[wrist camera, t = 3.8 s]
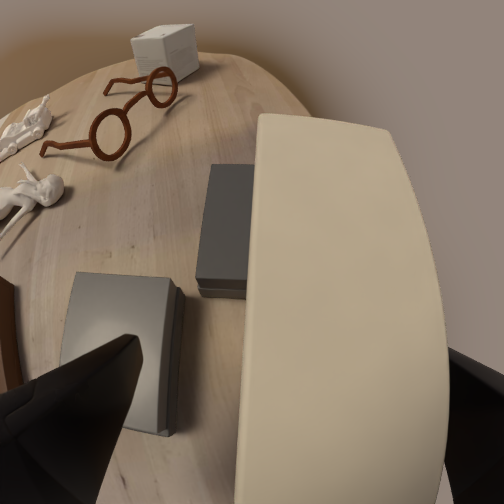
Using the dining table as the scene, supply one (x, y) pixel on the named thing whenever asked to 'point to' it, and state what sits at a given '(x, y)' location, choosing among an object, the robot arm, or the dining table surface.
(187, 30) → the white cardboard box
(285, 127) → the white book
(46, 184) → the woman figurine
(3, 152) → the toy car
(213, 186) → the dark grey book stack
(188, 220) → the dining table surface
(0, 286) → the book tray
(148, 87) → the glasses
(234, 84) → the dining table surface
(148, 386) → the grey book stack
